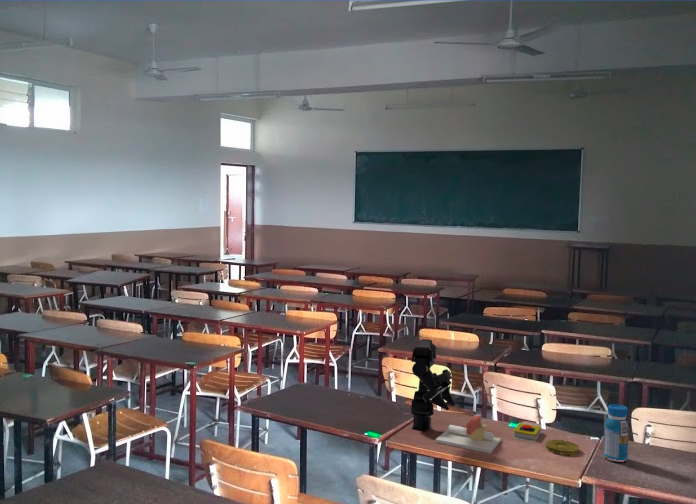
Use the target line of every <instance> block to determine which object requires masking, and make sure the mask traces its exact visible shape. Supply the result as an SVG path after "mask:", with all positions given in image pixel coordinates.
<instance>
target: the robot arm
mask: <svg viewBox="0 0 696 504" xmlns="http://www.w3.org/2000/svg"><path fill="white" fill-rule="evenodd" d="M411 355H412V356H411V363H414V364H413V366H412V368H411V369H412V371H411V372H412V374H413V375H414V376H416V377H417V378H418V379H419V381H418V388H417V389H418V390H416V391H415V392H414V395H413V399H412V400H411V415H413V424H412V426H411V429H412V430H418V431H422V432H427V431H428V430H430V429H431V427H432V416H434V411H435V409H434V405H436V406H438V407H440V408H441V409H443V410H446V411H449V410H450V407H449V406H448V404H449V405H451V406H452V407H453V406H455V404H456V403H455V401H454V398H453V396H452V393H451V387H452V386H451V385H452V381H451V380H452V379H453V377H452V375H453V374H452V372H451V371H450V370H448V369H447V368H445V369H443V370H441V371H442V372H441V373H440V374H437V373H436V372H432V370H431V368H432V367H433V366H434V365H435V362H436V360H437V346H436V345H435V344H434V343H433V340H432V339H427V338H425V339H424V338H423V339H422V338H421V339H420V343H418V345H415V346H414V348H412V353H411ZM446 402H447V403H448V404H447V403H446Z"/></svg>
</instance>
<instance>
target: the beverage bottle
mask: <svg viewBox="0 0 696 504" xmlns="http://www.w3.org/2000/svg"><path fill="white" fill-rule="evenodd" d="M628 411H629V409H628V406H625V405H622V404H619V403H618V404H614V403H612V404H609V405H608V407H607V414H608V417H607V418H606V420H605V421H604V422H605V426H604V427H605V428H604V448H603V457H604V456H606V457H608V458H611V459H616V460H625V459H627V460H628V452H629V436H630V431H629V428H630V425H629V421H628V420H627V417H628V413H629V412H628Z"/></svg>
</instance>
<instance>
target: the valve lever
mask: <svg viewBox="0 0 696 504" xmlns="http://www.w3.org/2000/svg"><path fill="white" fill-rule="evenodd" d="M481 424H482V414H480V413H477V414H475V416H474V417H472V419H470V421H468V422H467V423H466V428H467V430H466V434H467V435H471V434H472V433H473V432H474V431H475V430H476V429H477V428H478V427H479V426H481Z"/></svg>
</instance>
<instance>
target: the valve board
mask: <svg viewBox="0 0 696 504" xmlns="http://www.w3.org/2000/svg"><path fill="white" fill-rule="evenodd" d="M466 430H467V427H465V426H460V425H454V424H449V425H448V428H447V429H446V430H444V431H443V432H442V433H441V434H440V435H439V436H438V437H436V438H435V443H438V444H443V445H447V446H450V447H451V446H453V447H458V448H462V449H467V450H471V451H476V452H481V453H485V454H492V452H493V451H494V450H495V449H496V448H497V446H498V445H499V444H500V443H501V441H502V438H501V437H495V433H494V432H492V431H488V425H487V424H484V423H481V426H479V427H478V428H477V429H476V430H475V431H474V432H473V433H472V434H471V435H467V434H466Z"/></svg>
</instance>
